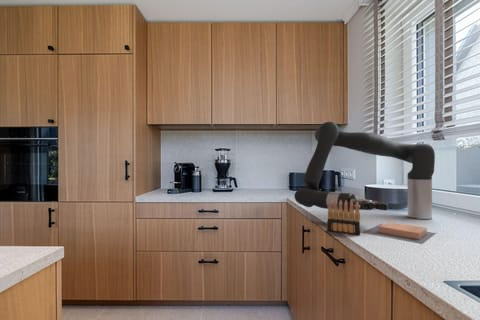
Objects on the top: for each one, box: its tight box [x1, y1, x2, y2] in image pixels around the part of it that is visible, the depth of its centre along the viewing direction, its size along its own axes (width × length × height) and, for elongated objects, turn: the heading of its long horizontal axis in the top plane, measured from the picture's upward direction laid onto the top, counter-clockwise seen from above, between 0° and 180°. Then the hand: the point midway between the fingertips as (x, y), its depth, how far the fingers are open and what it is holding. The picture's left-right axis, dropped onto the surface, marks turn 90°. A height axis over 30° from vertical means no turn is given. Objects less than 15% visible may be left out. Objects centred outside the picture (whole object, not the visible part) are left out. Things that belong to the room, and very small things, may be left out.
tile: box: [377, 221, 428, 239], centre depth 93 cm, size 10×2×12 cm
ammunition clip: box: [326, 199, 361, 236], centre depth 94 cm, size 11×2×12 cm, turn 60°
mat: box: [360, 223, 437, 245], centre depth 94 cm, size 18×18×1 cm
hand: (387, 207), depth 96 cm, fingers closed
